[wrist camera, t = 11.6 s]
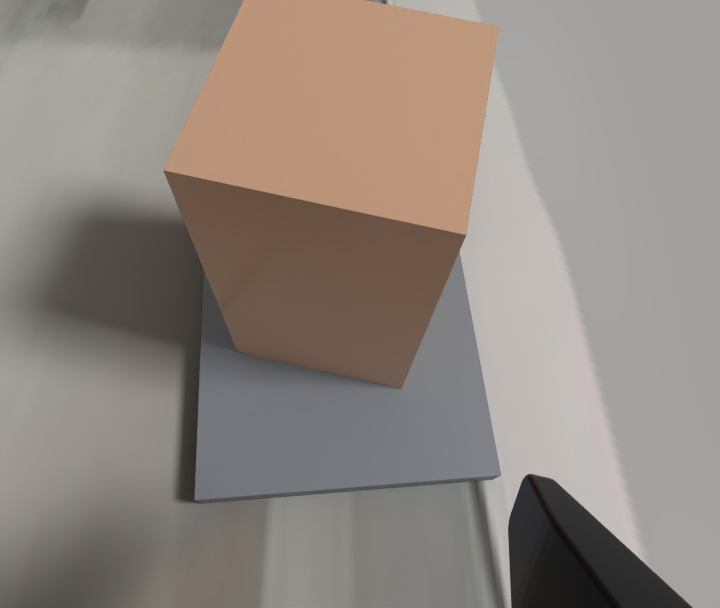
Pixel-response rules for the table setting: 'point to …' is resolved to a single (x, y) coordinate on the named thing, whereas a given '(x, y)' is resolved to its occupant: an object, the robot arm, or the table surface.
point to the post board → (342, 416)
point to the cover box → (334, 177)
